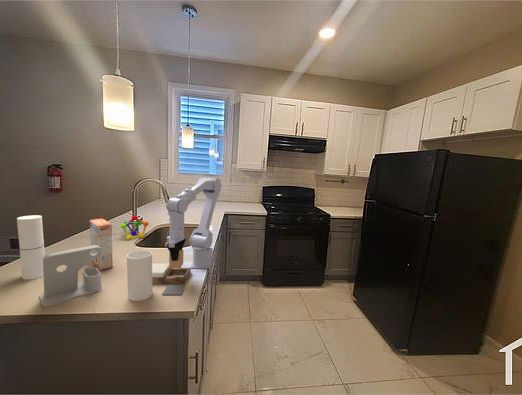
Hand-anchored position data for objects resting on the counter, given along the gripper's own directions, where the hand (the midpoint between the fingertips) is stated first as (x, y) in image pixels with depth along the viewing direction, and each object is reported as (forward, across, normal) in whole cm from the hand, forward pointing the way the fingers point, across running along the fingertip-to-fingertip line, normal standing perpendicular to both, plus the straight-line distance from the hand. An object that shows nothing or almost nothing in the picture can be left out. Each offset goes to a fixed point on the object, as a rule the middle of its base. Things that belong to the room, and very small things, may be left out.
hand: (176, 258), depth 98 cm
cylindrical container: (+10, -2, -59) cm, 60 cm away
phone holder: (+11, +10, -35) cm, 38 cm away
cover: (+8, -2, -9) cm, 12 cm away
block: (+3, 0, 0) cm, 3 cm away
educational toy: (+10, -56, -43) cm, 71 cm away
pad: (+10, +8, +1) cm, 13 cm away
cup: (+10, +11, -10) cm, 18 cm away
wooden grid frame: (+10, -2, -5) cm, 11 cm away
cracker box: (+10, -14, -39) cm, 43 cm away
